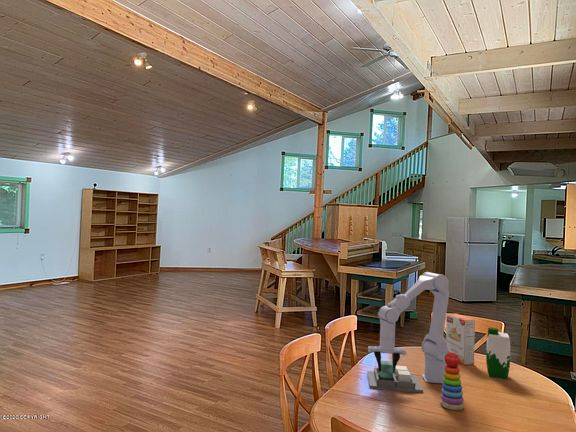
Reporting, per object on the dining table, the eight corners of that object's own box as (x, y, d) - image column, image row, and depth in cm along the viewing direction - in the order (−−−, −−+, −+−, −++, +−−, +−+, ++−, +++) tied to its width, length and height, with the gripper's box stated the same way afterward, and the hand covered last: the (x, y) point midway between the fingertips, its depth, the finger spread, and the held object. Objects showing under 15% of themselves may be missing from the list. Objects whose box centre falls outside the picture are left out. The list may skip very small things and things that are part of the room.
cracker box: (444, 355, 204) (445, 313, 205) (455, 355, 206) (456, 313, 206) (463, 365, 191) (464, 320, 191) (474, 364, 192) (475, 319, 192)
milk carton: (485, 370, 185) (486, 325, 185) (508, 374, 181) (509, 328, 182) (486, 377, 177) (488, 330, 177) (510, 381, 173) (511, 333, 173)
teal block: (391, 374, 166) (391, 361, 166) (392, 378, 161) (393, 365, 161) (379, 373, 166) (380, 360, 166) (380, 377, 162) (381, 364, 162)
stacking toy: (463, 403, 149) (464, 351, 150) (464, 413, 142) (466, 358, 142) (439, 399, 152) (441, 348, 152) (440, 408, 144) (441, 354, 145)
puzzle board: (415, 377, 174) (416, 364, 174) (423, 392, 158) (423, 378, 158) (367, 373, 176) (367, 360, 176) (369, 388, 160) (370, 373, 160)
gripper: (369, 338, 161) (368, 373, 161) (407, 341, 159) (406, 376, 159) (368, 333, 168) (367, 367, 168) (405, 336, 166) (403, 370, 166)
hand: (386, 371), depth 164 cm, fingers closed on teal block, 4 cm apart
